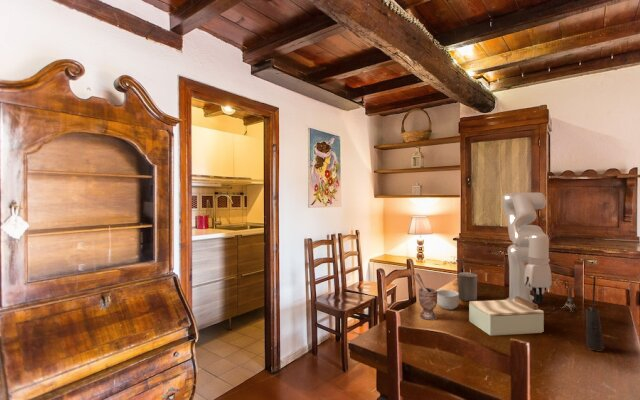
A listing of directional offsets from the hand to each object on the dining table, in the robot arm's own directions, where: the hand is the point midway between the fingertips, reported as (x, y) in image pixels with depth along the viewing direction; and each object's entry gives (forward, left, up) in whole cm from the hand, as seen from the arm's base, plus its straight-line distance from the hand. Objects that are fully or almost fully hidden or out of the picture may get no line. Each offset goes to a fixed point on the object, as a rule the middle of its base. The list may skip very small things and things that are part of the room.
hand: (538, 302), depth 150 cm
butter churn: (-4, +23, -10) cm, 26 cm away
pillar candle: (+11, -39, -10) cm, 42 cm away
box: (+16, 0, -10) cm, 19 cm away
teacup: (+29, -28, -10) cm, 42 cm away
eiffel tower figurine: (-31, -17, -11) cm, 37 cm away
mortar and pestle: (+46, -16, -10) cm, 50 cm away
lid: (+16, 0, -2) cm, 16 cm away
